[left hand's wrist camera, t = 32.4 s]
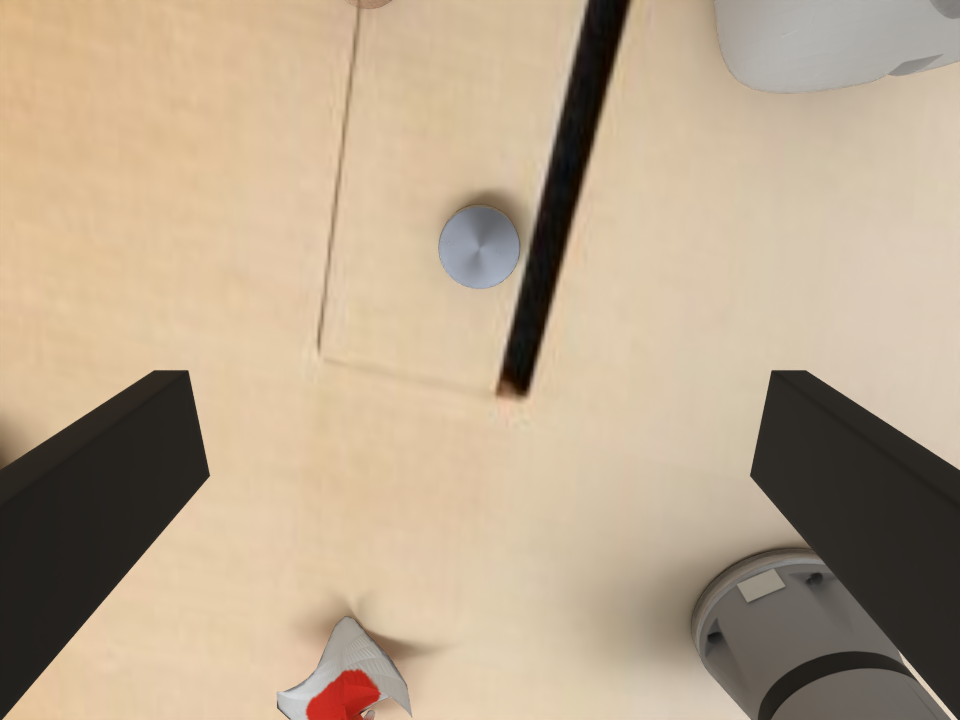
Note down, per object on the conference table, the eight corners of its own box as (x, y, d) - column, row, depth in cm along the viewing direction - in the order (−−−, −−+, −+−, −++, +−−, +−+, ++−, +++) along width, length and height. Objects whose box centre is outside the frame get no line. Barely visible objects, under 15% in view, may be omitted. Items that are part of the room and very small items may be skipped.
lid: (509, 196, 35) (511, 198, 34) (524, 273, 37) (526, 279, 35) (432, 214, 36) (429, 216, 34) (450, 289, 37) (449, 296, 36)
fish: (242, 765, 48) (249, 862, 39) (291, 588, 49) (309, 642, 40) (358, 757, 52) (388, 842, 44) (400, 596, 54) (437, 647, 45)
